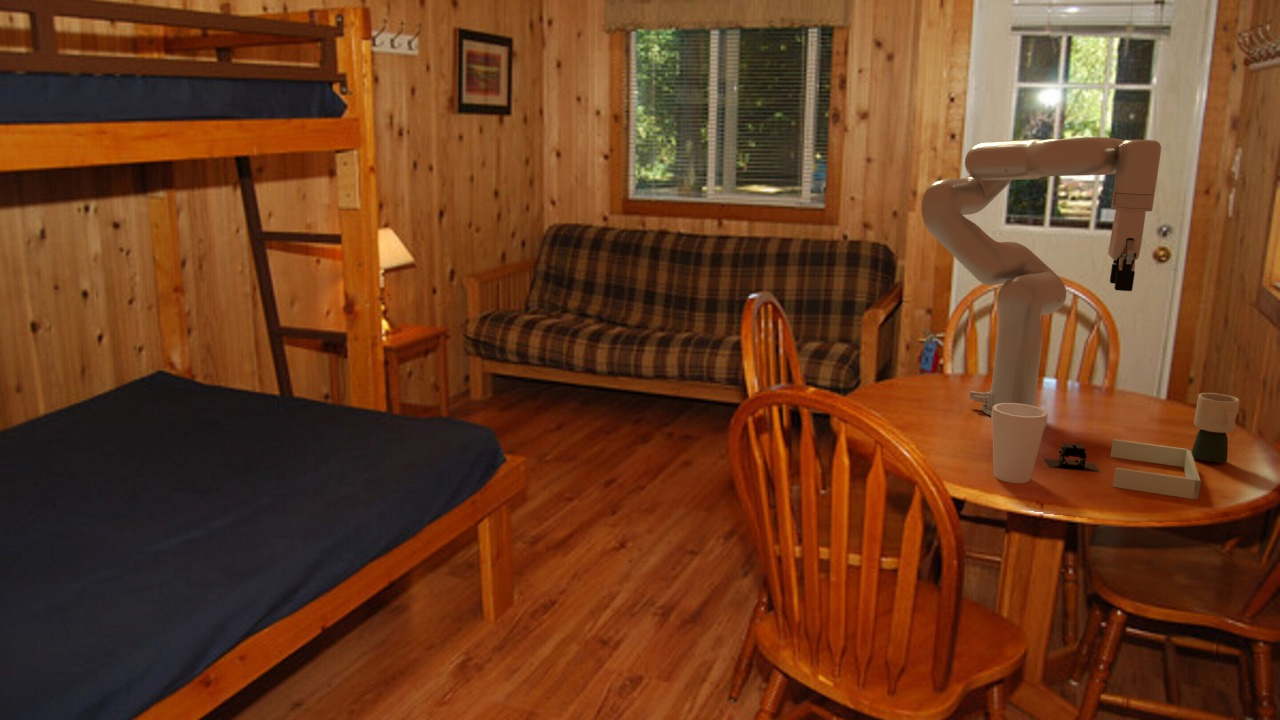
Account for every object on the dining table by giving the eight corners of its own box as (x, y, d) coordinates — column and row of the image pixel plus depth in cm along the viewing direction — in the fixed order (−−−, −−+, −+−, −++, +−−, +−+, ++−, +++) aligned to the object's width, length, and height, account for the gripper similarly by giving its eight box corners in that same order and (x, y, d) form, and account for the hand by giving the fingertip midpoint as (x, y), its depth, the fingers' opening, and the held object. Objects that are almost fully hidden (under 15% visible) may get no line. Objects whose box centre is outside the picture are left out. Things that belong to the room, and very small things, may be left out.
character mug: (1242, 470, 192) (1253, 405, 188) (1204, 469, 192) (1215, 404, 189) (1212, 452, 202) (1222, 390, 199) (1176, 451, 202) (1186, 389, 199)
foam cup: (996, 485, 180) (1004, 416, 177) (977, 468, 189) (984, 402, 186) (1047, 486, 180) (1056, 417, 177) (1026, 469, 189) (1034, 403, 186)
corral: (1113, 486, 181) (1115, 468, 180) (1110, 455, 198) (1113, 439, 197) (1197, 499, 175) (1200, 480, 175) (1187, 466, 193) (1190, 449, 192)
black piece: (1040, 471, 190) (1042, 448, 189) (1033, 459, 197) (1036, 437, 196) (1109, 477, 188) (1112, 453, 186) (1100, 464, 195) (1103, 441, 193)
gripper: (1107, 199, 208) (1096, 279, 212) (1116, 204, 193) (1104, 291, 197) (1147, 200, 206) (1135, 282, 210) (1159, 206, 190) (1146, 294, 194)
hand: (1120, 286), depth 203 cm, fingers open, 9 cm apart
